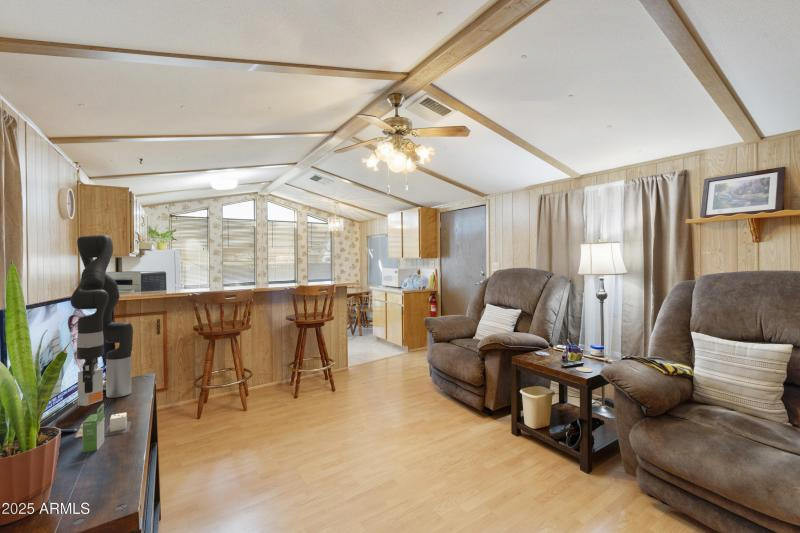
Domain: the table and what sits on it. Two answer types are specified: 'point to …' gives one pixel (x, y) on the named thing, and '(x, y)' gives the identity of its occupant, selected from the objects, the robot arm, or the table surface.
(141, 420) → the table surface
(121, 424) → the die
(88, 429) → the ink box
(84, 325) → the robot arm
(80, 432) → the board
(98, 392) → the skincare box
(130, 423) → the mat
